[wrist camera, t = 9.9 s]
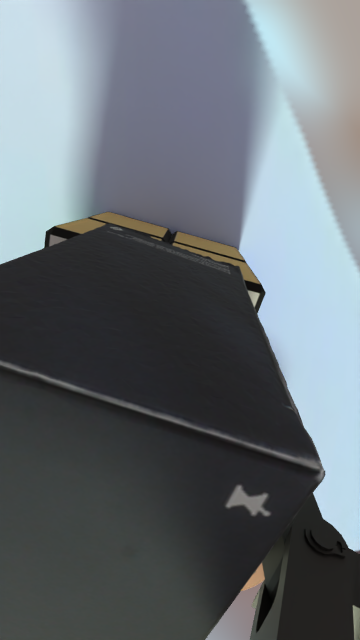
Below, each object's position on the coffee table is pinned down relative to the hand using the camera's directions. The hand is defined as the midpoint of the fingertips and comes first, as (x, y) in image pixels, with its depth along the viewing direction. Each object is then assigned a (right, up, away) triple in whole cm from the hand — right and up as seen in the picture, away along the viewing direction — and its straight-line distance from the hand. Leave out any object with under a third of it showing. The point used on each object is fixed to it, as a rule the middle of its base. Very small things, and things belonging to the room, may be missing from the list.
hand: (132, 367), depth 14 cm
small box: (0, +1, +2) cm, 2 cm away
